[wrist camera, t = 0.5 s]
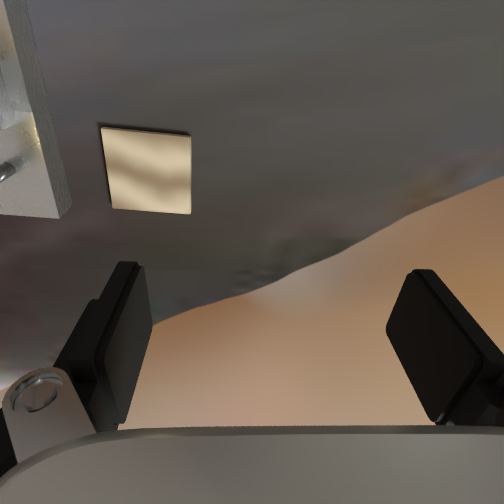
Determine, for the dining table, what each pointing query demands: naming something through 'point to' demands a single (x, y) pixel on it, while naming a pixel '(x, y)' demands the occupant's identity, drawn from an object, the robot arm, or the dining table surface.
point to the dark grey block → (5, 106)
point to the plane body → (28, 126)
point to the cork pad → (148, 170)
